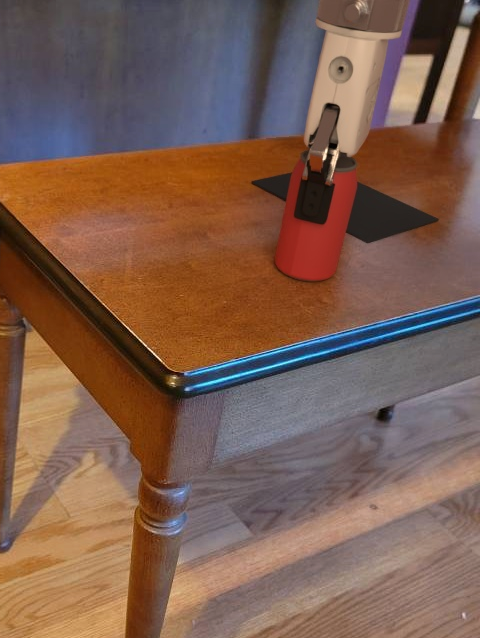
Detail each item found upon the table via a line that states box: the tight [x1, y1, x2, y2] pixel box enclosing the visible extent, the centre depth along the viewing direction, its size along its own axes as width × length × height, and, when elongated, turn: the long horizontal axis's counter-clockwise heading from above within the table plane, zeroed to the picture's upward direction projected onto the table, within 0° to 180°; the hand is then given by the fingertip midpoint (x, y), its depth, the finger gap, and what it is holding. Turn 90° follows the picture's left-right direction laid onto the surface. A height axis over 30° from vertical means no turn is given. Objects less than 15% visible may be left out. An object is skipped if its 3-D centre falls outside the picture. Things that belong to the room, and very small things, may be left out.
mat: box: [250, 171, 440, 244], centre depth 96 cm, size 20×14×1 cm
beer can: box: [274, 148, 358, 283], centre depth 75 cm, size 7×7×12 cm
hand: (318, 206), depth 75 cm, fingers closed on beer can, 6 cm apart
